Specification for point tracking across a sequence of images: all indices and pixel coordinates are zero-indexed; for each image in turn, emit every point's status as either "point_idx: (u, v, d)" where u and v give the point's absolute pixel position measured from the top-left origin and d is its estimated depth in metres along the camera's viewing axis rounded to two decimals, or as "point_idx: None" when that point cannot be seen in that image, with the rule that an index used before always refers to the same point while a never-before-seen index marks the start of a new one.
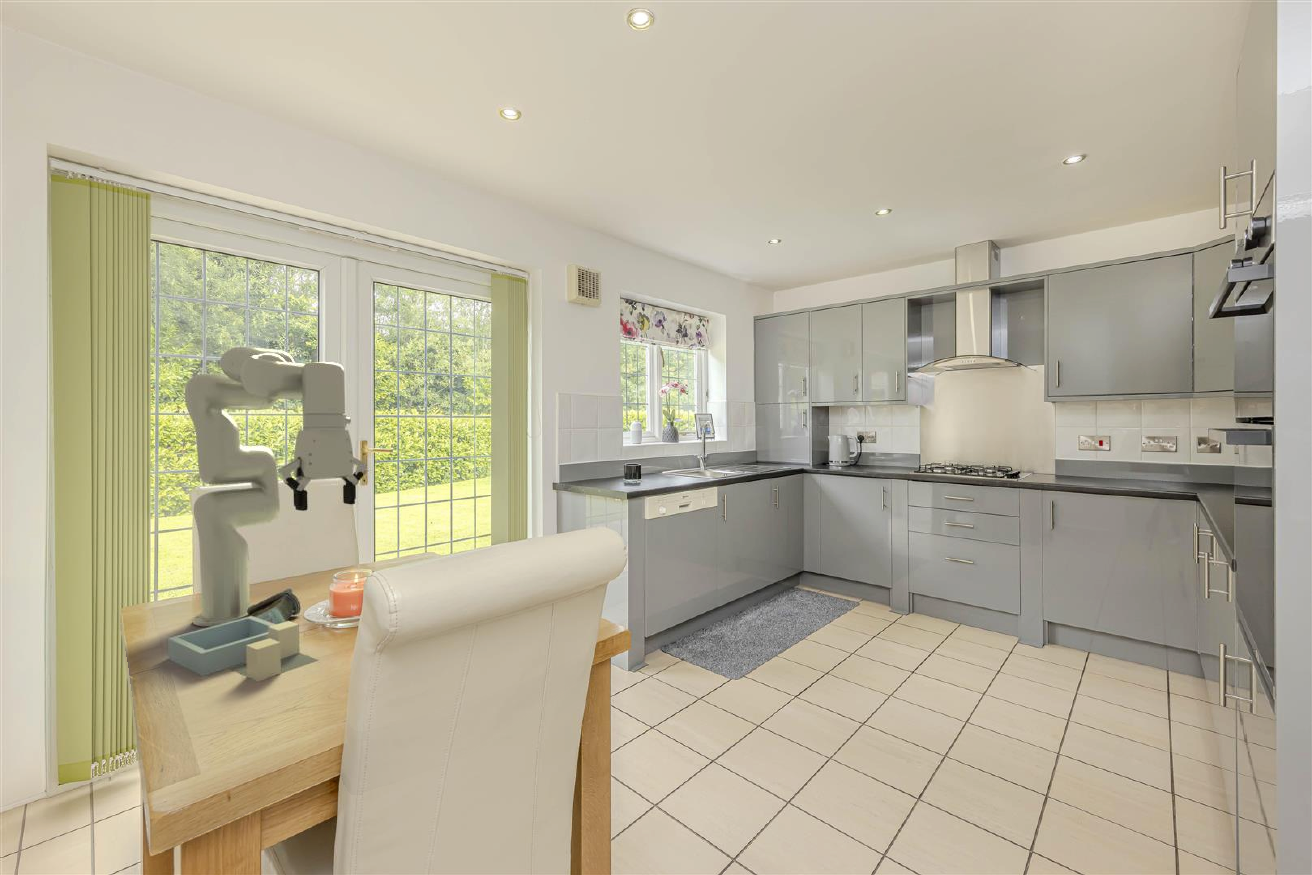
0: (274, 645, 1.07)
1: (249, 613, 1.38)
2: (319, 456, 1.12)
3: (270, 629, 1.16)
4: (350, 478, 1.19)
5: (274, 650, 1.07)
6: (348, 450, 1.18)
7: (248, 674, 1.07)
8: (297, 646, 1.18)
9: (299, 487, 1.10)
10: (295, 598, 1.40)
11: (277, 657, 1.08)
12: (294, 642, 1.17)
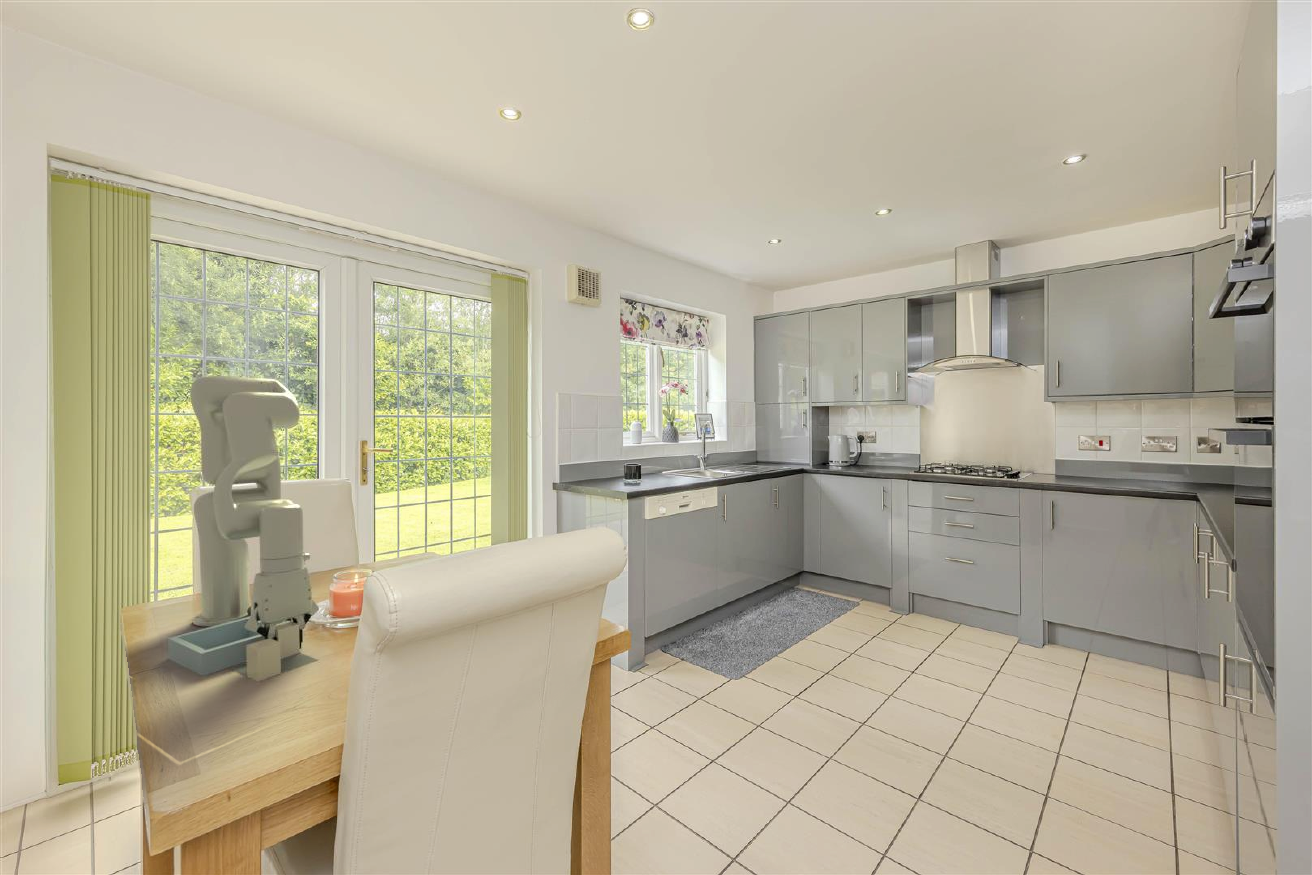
0: (274, 645, 1.07)
1: (249, 613, 1.38)
2: (276, 600, 1.14)
3: None
4: (299, 620, 1.18)
5: (274, 650, 1.07)
6: (306, 588, 1.19)
7: (248, 674, 1.07)
8: (297, 646, 1.18)
9: (270, 636, 1.14)
10: None
11: (277, 657, 1.08)
12: (294, 642, 1.17)
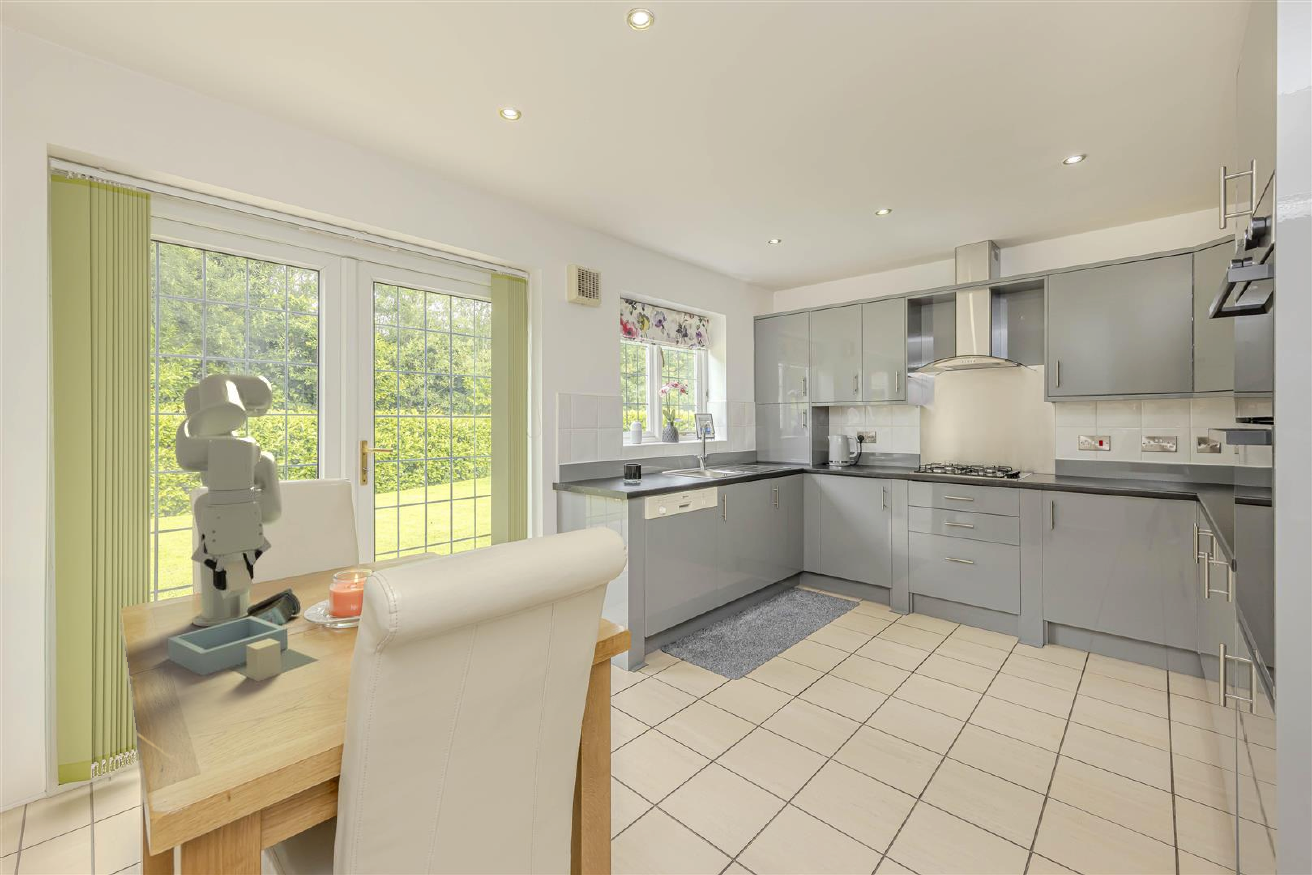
0: (274, 645, 1.07)
1: (249, 613, 1.38)
2: (224, 532, 1.13)
3: None
4: (249, 555, 1.17)
5: (274, 650, 1.07)
6: (257, 523, 1.18)
7: (248, 674, 1.07)
8: (249, 579, 1.16)
9: (218, 568, 1.13)
10: (295, 598, 1.40)
11: (277, 657, 1.08)
12: (243, 575, 1.16)
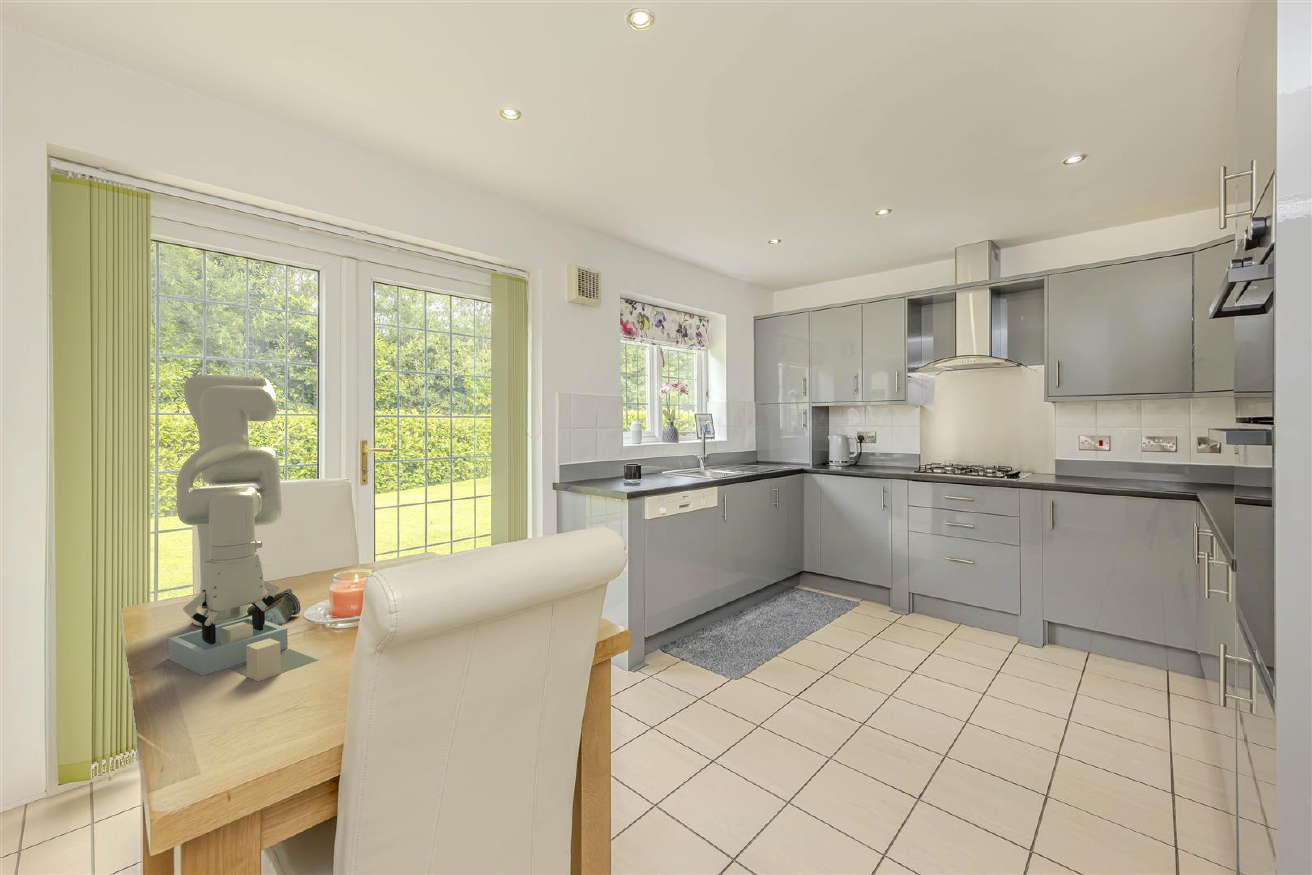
0: (274, 645, 1.07)
1: (249, 613, 1.38)
2: (225, 587, 1.13)
3: (223, 630, 1.15)
4: (258, 604, 1.19)
5: (274, 650, 1.07)
6: (258, 575, 1.18)
7: (248, 674, 1.07)
8: None
9: (206, 622, 1.11)
10: (295, 598, 1.40)
11: (277, 657, 1.08)
12: None
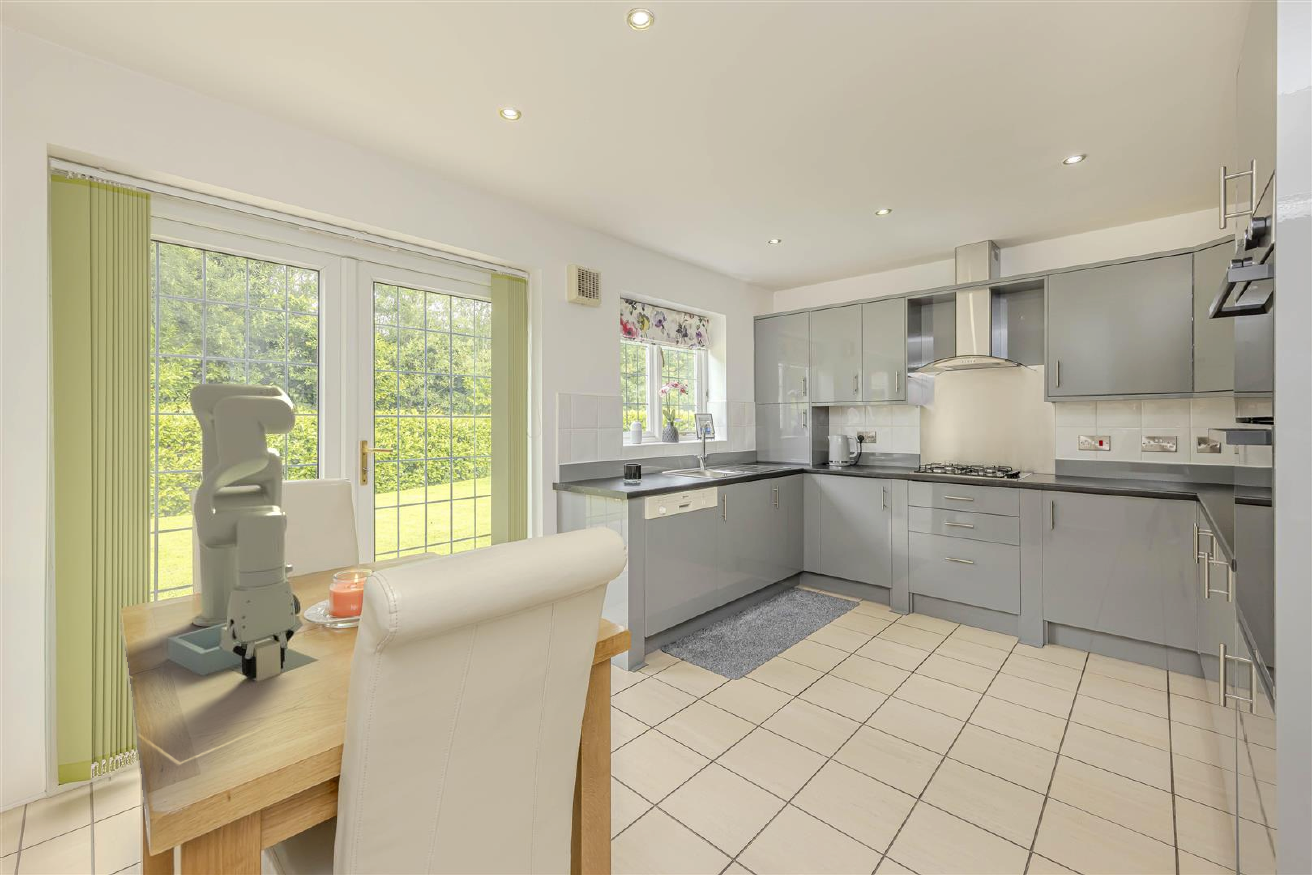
0: (274, 645, 1.07)
1: None
2: (254, 617, 1.04)
3: (223, 630, 1.15)
4: (281, 638, 1.09)
5: (274, 650, 1.07)
6: (288, 602, 1.09)
7: None
8: None
9: (247, 656, 1.04)
10: (295, 598, 1.40)
11: (277, 657, 1.08)
12: None
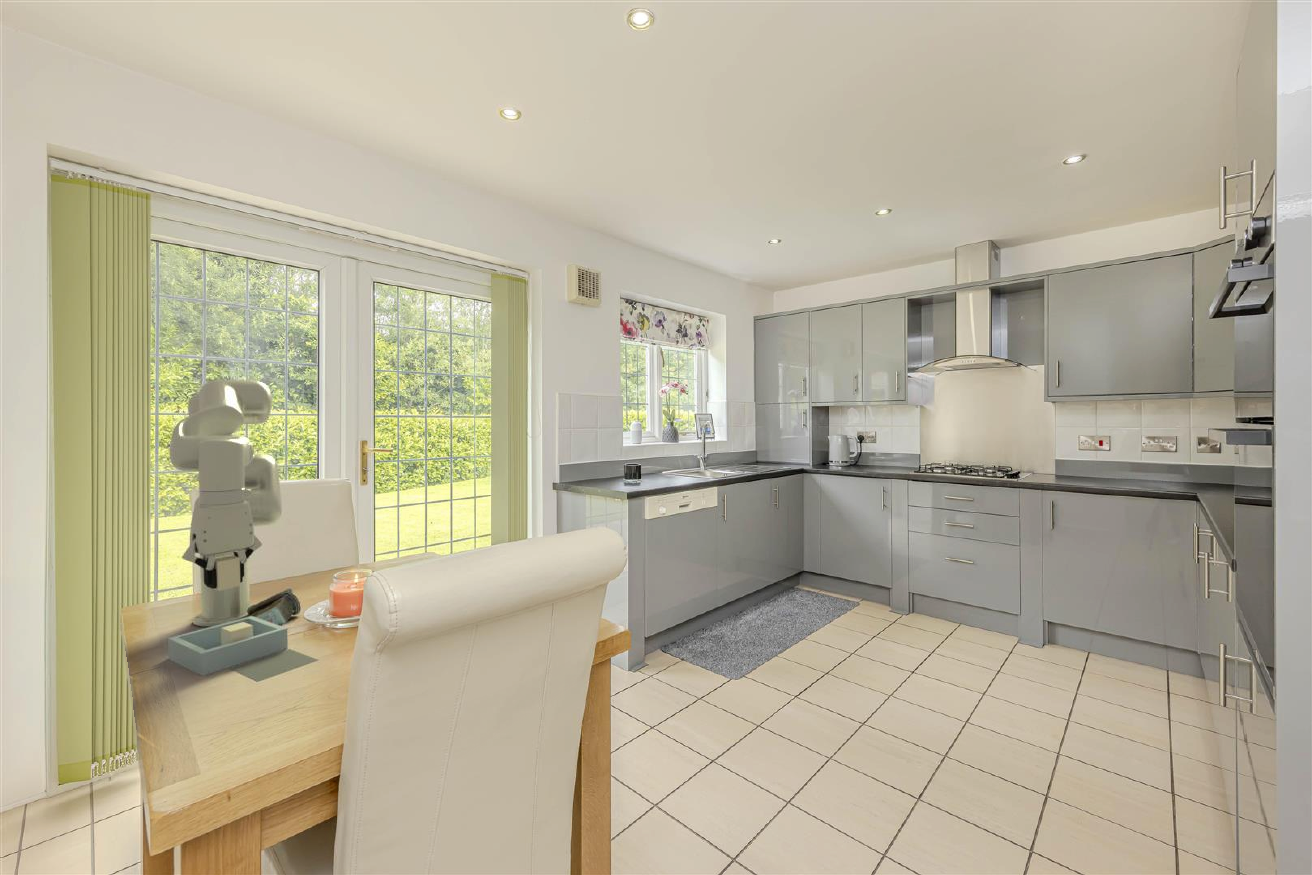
0: (234, 560, 1.18)
1: (249, 613, 1.38)
2: (215, 532, 1.15)
3: (223, 630, 1.15)
4: (240, 554, 1.20)
5: (234, 564, 1.18)
6: (247, 522, 1.20)
7: None
8: None
9: (208, 567, 1.15)
10: (295, 598, 1.40)
11: (236, 571, 1.19)
12: None
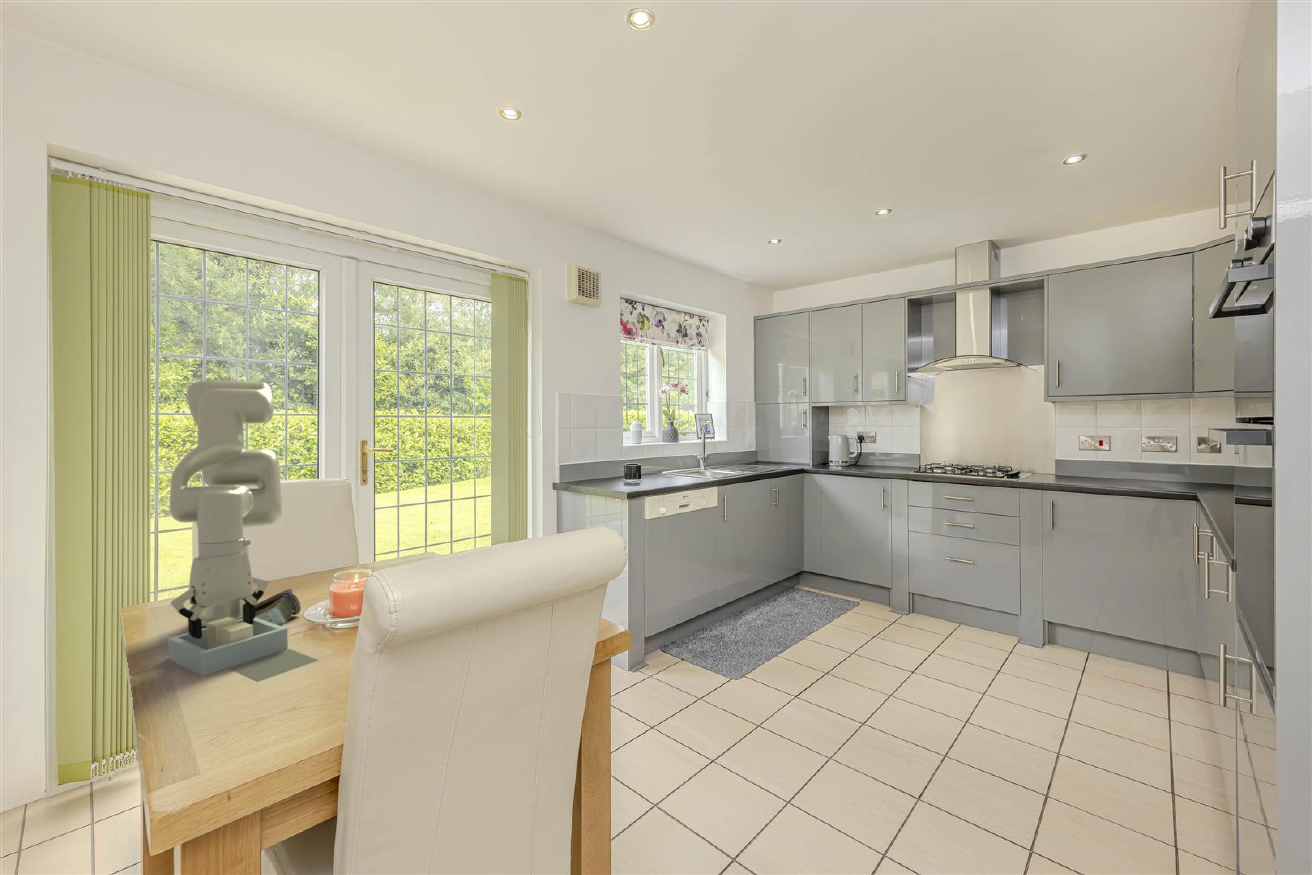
0: (232, 623, 1.19)
1: None
2: (213, 584, 1.15)
3: (223, 630, 1.15)
4: (248, 599, 1.22)
5: None
6: (246, 572, 1.21)
7: (208, 649, 1.18)
8: None
9: (193, 617, 1.13)
10: (295, 598, 1.40)
11: None
12: None
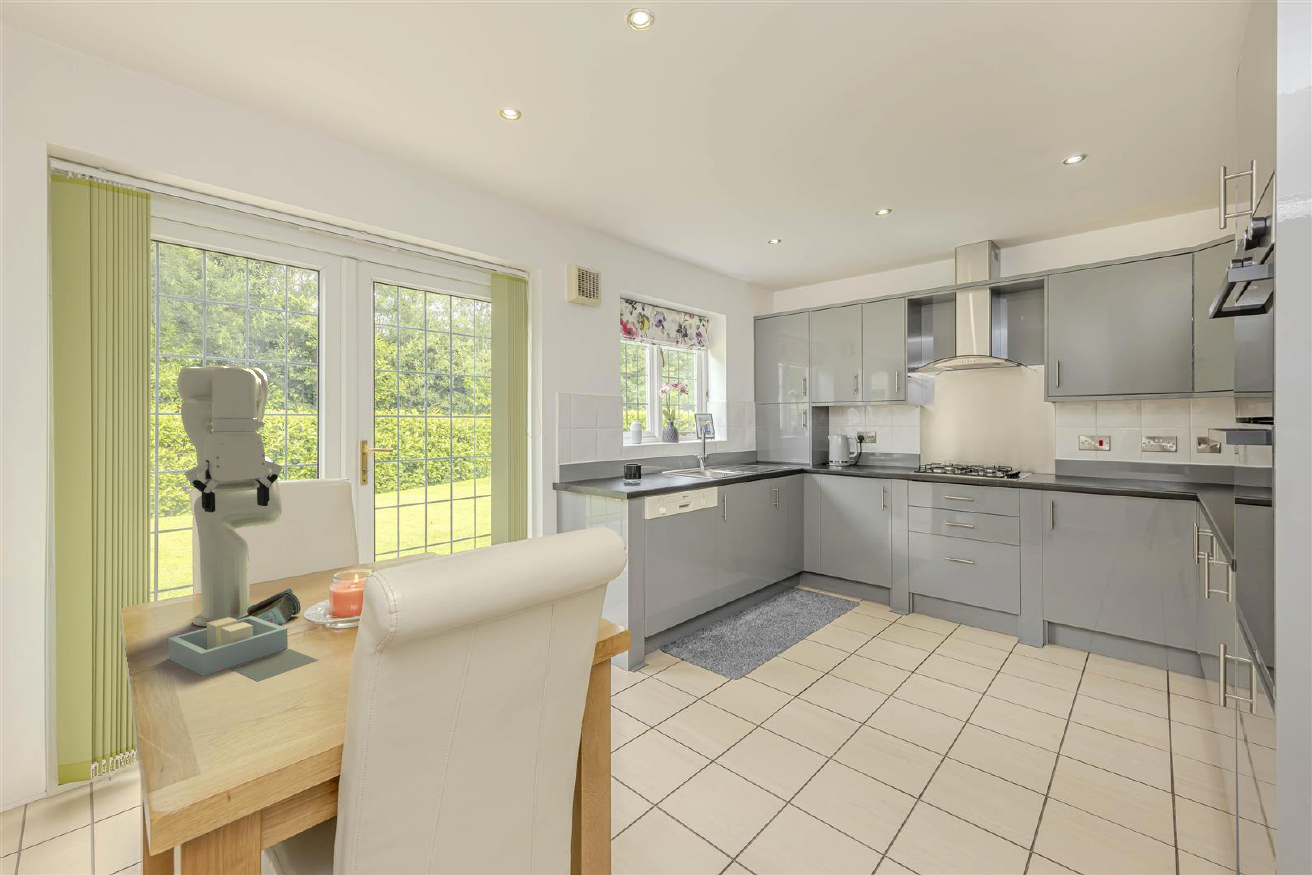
0: (232, 623, 1.19)
1: (249, 613, 1.38)
2: (227, 459, 1.15)
3: (223, 630, 1.15)
4: (263, 480, 1.22)
5: None
6: (260, 453, 1.20)
7: (208, 649, 1.18)
8: None
9: (206, 489, 1.13)
10: (295, 598, 1.40)
11: None
12: None
